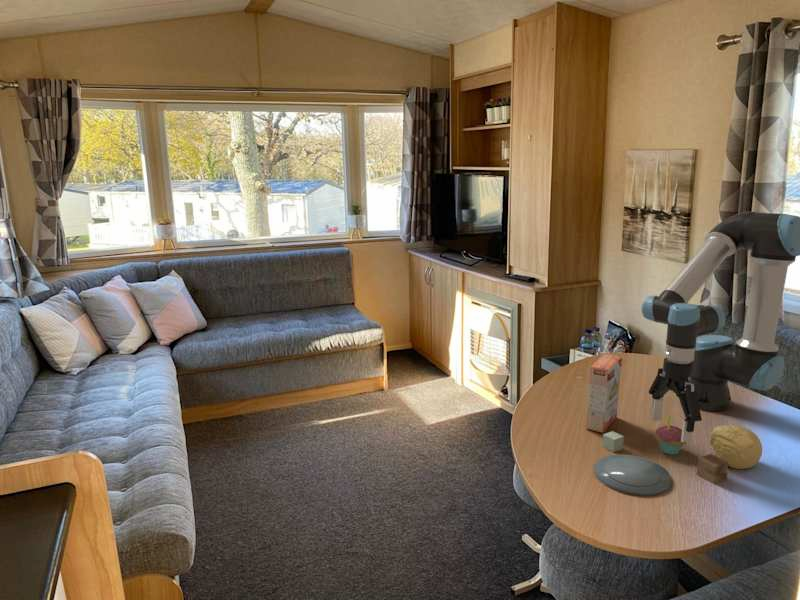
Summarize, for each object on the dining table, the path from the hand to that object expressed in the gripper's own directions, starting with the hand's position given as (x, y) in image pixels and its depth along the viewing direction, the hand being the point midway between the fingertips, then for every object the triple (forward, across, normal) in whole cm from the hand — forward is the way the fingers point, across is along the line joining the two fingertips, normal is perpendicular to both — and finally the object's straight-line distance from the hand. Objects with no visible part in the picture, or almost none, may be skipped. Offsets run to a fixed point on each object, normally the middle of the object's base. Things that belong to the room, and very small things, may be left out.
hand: (670, 430), depth 170 cm
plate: (+7, +10, -18) cm, 21 cm away
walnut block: (+7, +15, +2) cm, 16 cm away
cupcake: (+7, 0, 0) cm, 7 cm away
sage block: (+7, -5, -14) cm, 17 cm away
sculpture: (+7, +10, +14) cm, 18 cm away
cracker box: (+7, -20, -10) cm, 23 cm away
